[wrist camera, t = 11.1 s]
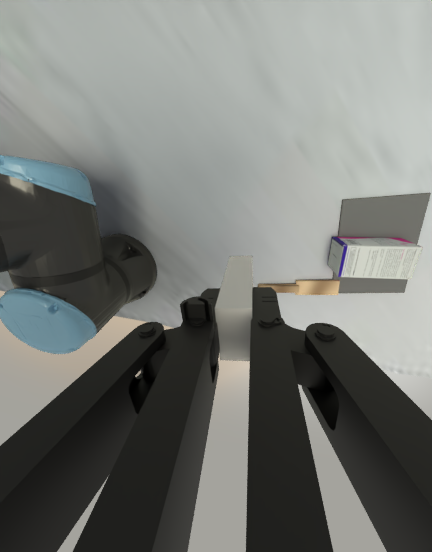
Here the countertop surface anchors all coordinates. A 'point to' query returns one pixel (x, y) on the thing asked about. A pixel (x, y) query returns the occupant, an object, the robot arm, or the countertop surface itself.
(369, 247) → the supplement box
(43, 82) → the countertop surface
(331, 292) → the turner
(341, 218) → the mat
